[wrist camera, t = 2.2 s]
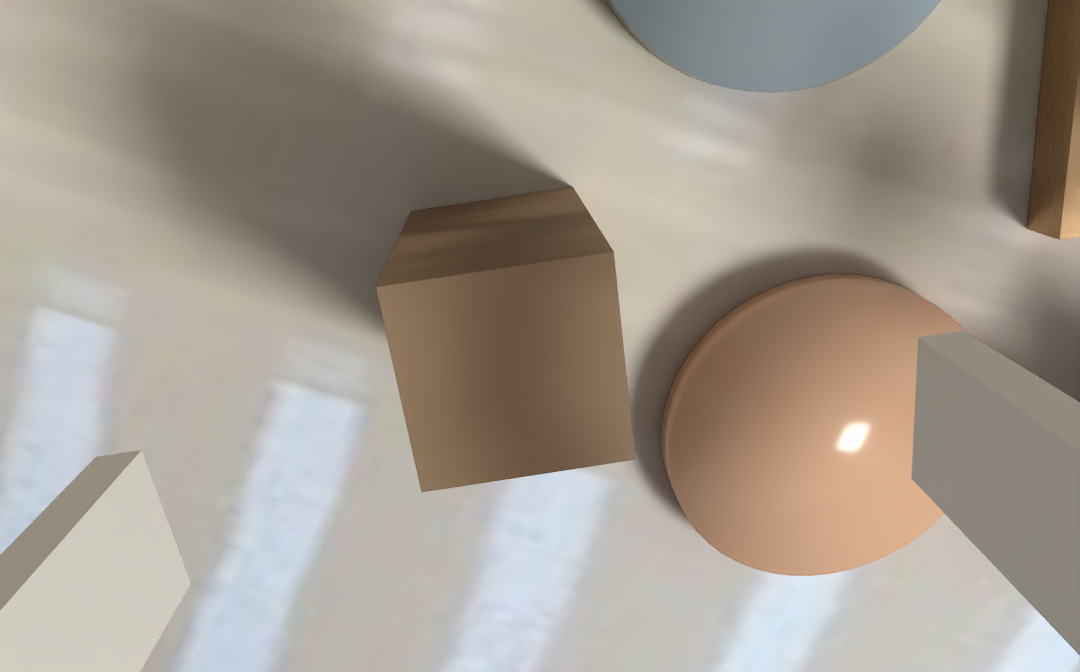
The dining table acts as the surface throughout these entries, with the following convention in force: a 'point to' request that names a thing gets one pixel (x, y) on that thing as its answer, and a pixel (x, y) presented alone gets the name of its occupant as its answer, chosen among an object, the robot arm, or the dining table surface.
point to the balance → (1058, 128)
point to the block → (507, 340)
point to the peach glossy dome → (804, 426)
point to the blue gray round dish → (770, 37)
